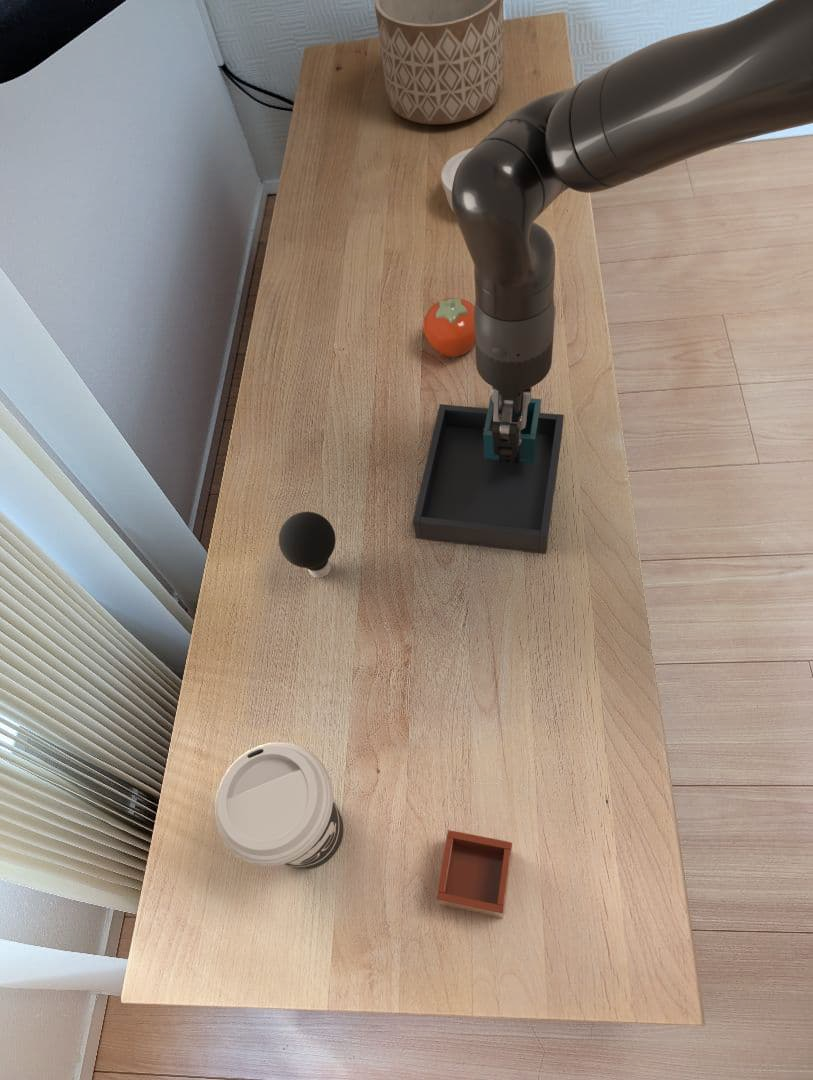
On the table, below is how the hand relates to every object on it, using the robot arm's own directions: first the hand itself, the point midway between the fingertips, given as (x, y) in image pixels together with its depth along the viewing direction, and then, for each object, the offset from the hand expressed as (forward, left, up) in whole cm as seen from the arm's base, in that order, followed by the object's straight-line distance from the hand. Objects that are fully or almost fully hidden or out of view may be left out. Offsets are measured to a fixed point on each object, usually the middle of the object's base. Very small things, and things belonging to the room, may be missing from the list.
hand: (513, 438), depth 89 cm
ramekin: (+11, -46, -4) cm, 47 cm away
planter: (+21, -72, -4) cm, 75 cm away
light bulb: (+19, +18, -4) cm, 26 cm away
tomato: (+10, -17, -4) cm, 20 cm away
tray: (+2, +4, -4) cm, 6 cm away
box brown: (-3, +46, -4) cm, 46 cm away
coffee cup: (+13, +45, -4) cm, 47 cm away
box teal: (0, 0, -1) cm, 1 cm away
